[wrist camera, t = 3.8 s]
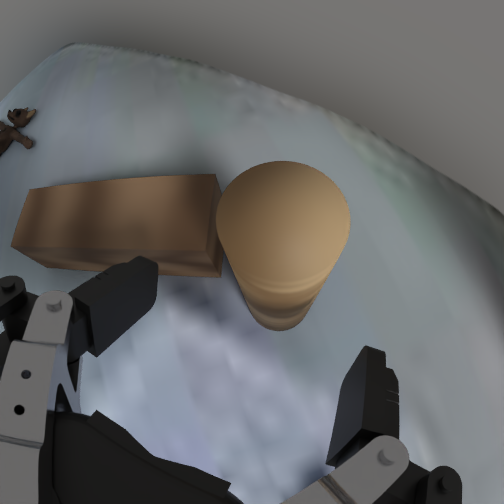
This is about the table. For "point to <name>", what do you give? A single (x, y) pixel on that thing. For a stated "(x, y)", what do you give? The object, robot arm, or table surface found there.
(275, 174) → the oak post
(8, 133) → the brown toy figure
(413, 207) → the table surface
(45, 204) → the walnut rail
